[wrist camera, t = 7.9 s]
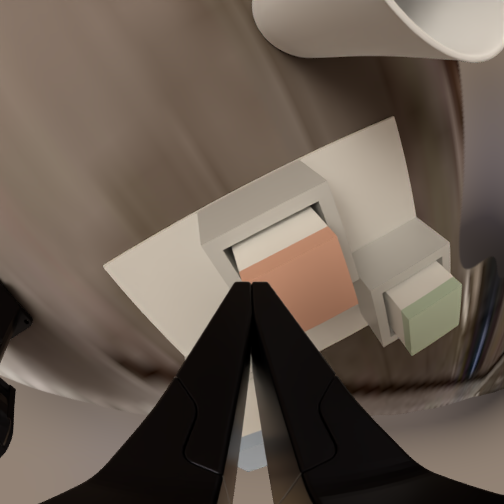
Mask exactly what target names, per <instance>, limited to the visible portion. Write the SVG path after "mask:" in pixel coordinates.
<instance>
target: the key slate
mask: <svg viewBox="0 0 504 504" xmlns="http://www.w3.org/2000/svg"><path fill="white" fill-rule="evenodd" d="M265 466H267V461H266V455H265V448H264V442H263V436H262V430H261V424H260V417H259V411H258V405H257V398H256V392H255V386H254V379H251V380H249V383H248V391H247V399H246V406H245V414H244V422H243V430H242V437H241V445H240V452H239V460H238V467H239V468H241V469H243V470H245V471H247V472H250V471H253V470H256V469H259V468H262V467H265Z"/></svg>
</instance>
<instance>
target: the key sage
mask: <svg viewBox="0 0 504 504" xmlns="http://www.w3.org/2000/svg"><path fill="white" fill-rule="evenodd" d="M461 292H462V284H461V283H460V282H459V281H458V280H457V279H456V278H454V277H453V276H452V275H451V274H450V273H449V272H448V271H447V270H446V269H445V268H444V267H443V266H442V265H440V264H439V263H438V262H437V261H434V262H433V263H431V264H429V265H428V266H426V267H425V268H423V269H422V270H420V271H418V272H417V273H415V274H414V275H412V276H410V277H409V278H407V279H405V280H404V281H402V282H400V283H399V284H397V285H395V286H394V287H392V288H390V289H389V290H387V291H385V292H384V293H382V294H383V299H384V304H385V308H386V314H387V319H388V324H389V325H390V326H391V328H392V329H393V330H394V332H395V333H396V335H397V336H398V337H399V339H400V340H401V342H402V343H403V344H404V346H405V347H406V349H407V350H408V352H409V353H410V354H411V356H413V355H415V354H416V353H418V352H419V351H421V350H422V349H424V348H425V347H427V346H429V345H430V344H432V343H433V342H435V341H436V340H437V339H439V338H440V337H442V336H443V335H445V334H446V333H448V332H449V331H450V330H452V329H453V328H455V327H456V326H457V325H459V317H460V306H461Z"/></svg>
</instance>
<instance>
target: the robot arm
mask: <svg viewBox="0 0 504 504" xmlns="http://www.w3.org/2000/svg"><path fill="white" fill-rule="evenodd" d="M27 320H28V321H27ZM32 323H33V319H32V317H31V316H30V315H29V314H28V313H27V312H26V311H25V310H24V309H23V308H22V306H21V305H20V304H19V303H18V302H17V301H16V300H15V299H14V298H13V297H12V295H11V294H10V293H9V292H8V291H7V290H6V289H5V287H4V286H3V285H2V284H1V283H0V363H1V360H2V358H3V355H4V353H5V351H6V348H7V346H8V344H9V341H10V339H12V338H13V337H15V336H16V335H18V334H19V333H21V332H22V331H24V330H25V329H27V328H28V327H30V326H31V325H32ZM251 364H252V372H253V379H254V386H255V392H256V398H257V405H258V411H259V417H260V424H261V430H262V436H263V442H264V448H265V455H266V461H267V467H268V473H269V478H270V484H271V490H272V496H273V502H274V504H504V495H501V494H497V493H493V492H490V491H487V490H483V489H480V488H477V487H473V486H470V485H467V484H464V483H461V482H458V481H455V480H452V479H449V478H447V477H444V476H441V475H439V474H436V473H433V472H431V471H429V470H427V469H425V468H424V467H423V466H421V465H419V464H418V463H417V462H416V461H414V460H413V459H412V458H411V457H409V455H408V454H406V452H405V451H404V450H403V449H402V448H401V447H400V446H399V445H398V444H397V443H396V442H395V441H394V440H393V439H392V438H391V437H390V436H389V435H388V434H387V433H386V432H385V431H384V430H383V429H382V428H381V427H380V426H379V425H378V424H377V423H376V422H375V421H374V420H373V419H372V418H371V416H370V415H369V414H368V413H367V412H366V411H365V410H364V409H363V408H362V407H361V406H360V404H359V403H358V402H357V401H356V400H355V398H354V397H353V396H352V395H351V393H350V392H349V391H348V390H347V388H346V387H345V386H344V384H343V383H342V381H341V380H340V379H339V377H338V376H335V372H334V371H333V370H332V368H331V367H330V365H329V364H328V363H327V361H326V360H325V359H324V357H323V356H322V355H321V353H320V352H319V351H318V349H317V348H316V347H315V345H314V344H313V342H312V341H311V340H310V338H309V337H308V336H307V334H306V333H305V332H304V330H303V329H302V328H301V326H300V325H299V323H298V322H297V321H296V319H295V318H294V317H293V315H292V314H291V313H290V311H289V310H288V309H287V307H286V306H285V304H284V303H283V302H282V300H281V299H280V298H279V296H278V295H277V294H276V292H275V291H274V290H273V288H272V287H271V285H270V284H269V283H268V282H252V284H251V283H250V282H246V281H237V282H234V284H233V285H232V287H231V288H230V290H229V291H228V293H227V295H226V296H225V298H224V299H223V301H222V303H221V304H220V306H219V307H218V309H217V311H216V312H215V314H214V315H213V317H212V318H211V320H210V322H209V323H208V325H207V326H206V328H205V330H204V331H203V333H202V334H201V336H200V337H199V339H198V341H197V342H196V344H195V345H194V347H193V349H192V350H191V352H190V353H189V355H188V357H187V358H186V360H185V361H184V363H183V364H182V366H181V368H180V369H179V371H178V372H177V374H176V377H174V378H173V380H172V382H171V383H170V385H169V386H168V388H167V390H166V391H165V392H164V394H163V395H162V397H161V398H160V400H159V401H158V403H157V404H156V406H155V407H154V408H153V410H152V411H151V412H150V413H149V415H148V416H147V417H146V419H145V420H144V421H143V422H142V423H141V425H140V426H139V427H138V428H137V429H136V431H135V432H134V433H133V434H132V435H131V437H129V439H128V440H127V441H126V442H125V443H124V444H123V446H122V447H121V448H120V449H119V450H118V451H117V452H116V454H115V455H114V456H113V457H112V458H111V459H110V461H109V462H108V463H107V464H106V465H105V466H104V467H103V468H102V469H101V470H100V471H99V472H98V473H97V474H96V475H94V476H93V477H92V478H90V479H89V480H87V481H85V482H84V483H82V484H80V485H78V486H76V487H74V488H72V489H70V490H68V491H66V492H64V493H61V494H60V495H57V496H55V497H53V498H51V499H48V500H46V501H44V502H42V503H39V504H232V503H233V496H234V489H235V482H236V474H237V467H238V460H239V452H240V445H241V437H242V430H243V422H244V414H245V406H246V399H247V391H248V383H249V375H250V365H251ZM15 391H16V389H15V388H13V387H12V386H11V385H8V384H7V383H6V382H5V381H4V380H3V379H1V378H0V457H1V456H2V455H3V454H4V453H5V452H6V450H7V448H8V447H9V444H10V442H11V439H12V435H13V425H14V423H13V422H14V404H15Z"/></svg>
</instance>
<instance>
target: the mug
mask: <svg viewBox="0 0 504 504" xmlns="http://www.w3.org/2000/svg"><path fill="white" fill-rule="evenodd" d="M252 11H253V17H254V20H255V23H256V25H257V27H258V29H259V30H260V32H261V33H262V35H263V36H264V37H265V38H266V39H267V40H268V41H269V42H270V43H271V44H272V45H274V46H275V47H276V48H278V49H280V50H281V51H283V52H286V53H288V54H290V55H294V56H297V57H303V58H327V57H346V56H397V57H416V58H431V59H446V60H459V61H463V62H470V63H478V62H484V61H487V60H490V59H492V58H493V57H495V56H496V55H497V54H498V53H500V52H501V50H502V49H503V48H504V0H253V1H252Z"/></svg>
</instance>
